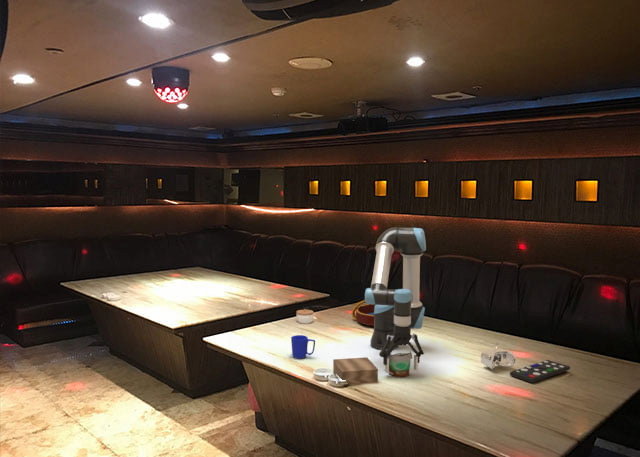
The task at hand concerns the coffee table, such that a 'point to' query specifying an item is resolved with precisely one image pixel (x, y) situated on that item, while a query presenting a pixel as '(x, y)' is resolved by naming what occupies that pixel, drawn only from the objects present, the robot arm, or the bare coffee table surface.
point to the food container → (399, 364)
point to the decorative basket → (364, 313)
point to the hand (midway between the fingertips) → (401, 371)
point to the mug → (300, 346)
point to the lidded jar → (305, 316)
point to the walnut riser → (356, 370)
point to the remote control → (539, 371)
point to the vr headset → (497, 358)
